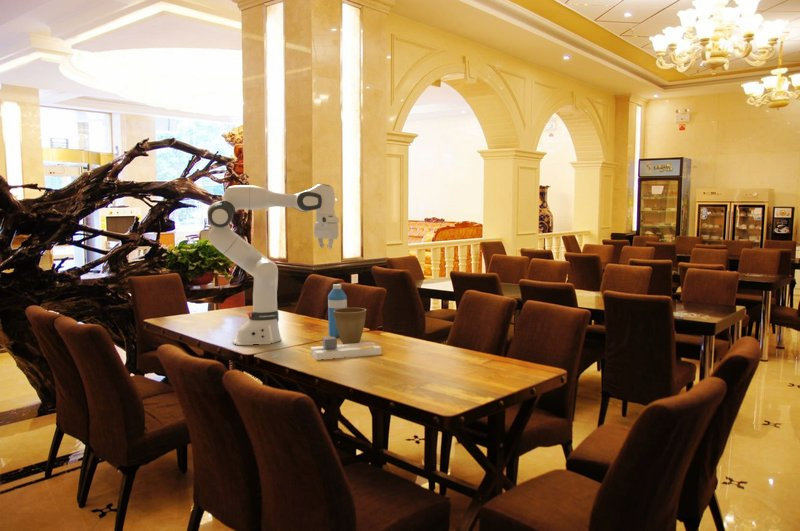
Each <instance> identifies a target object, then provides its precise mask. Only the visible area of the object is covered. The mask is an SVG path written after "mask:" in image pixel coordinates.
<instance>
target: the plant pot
mask: <svg viewBox="0 0 800 531" xmlns="http://www.w3.org/2000/svg"><path fill="white" fill-rule="evenodd" d="M334 316H335V322H336V326H337V329H338V333H339V336H340V337H339V339H340V341H341V343H342V344H352V343H361V342H360V341H361V339H362V336H363V332H364V328H365V322H366V316H367V309H366V308H364V307H363V308H362V307H347V308H341V309H336V310H334Z"/></svg>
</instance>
